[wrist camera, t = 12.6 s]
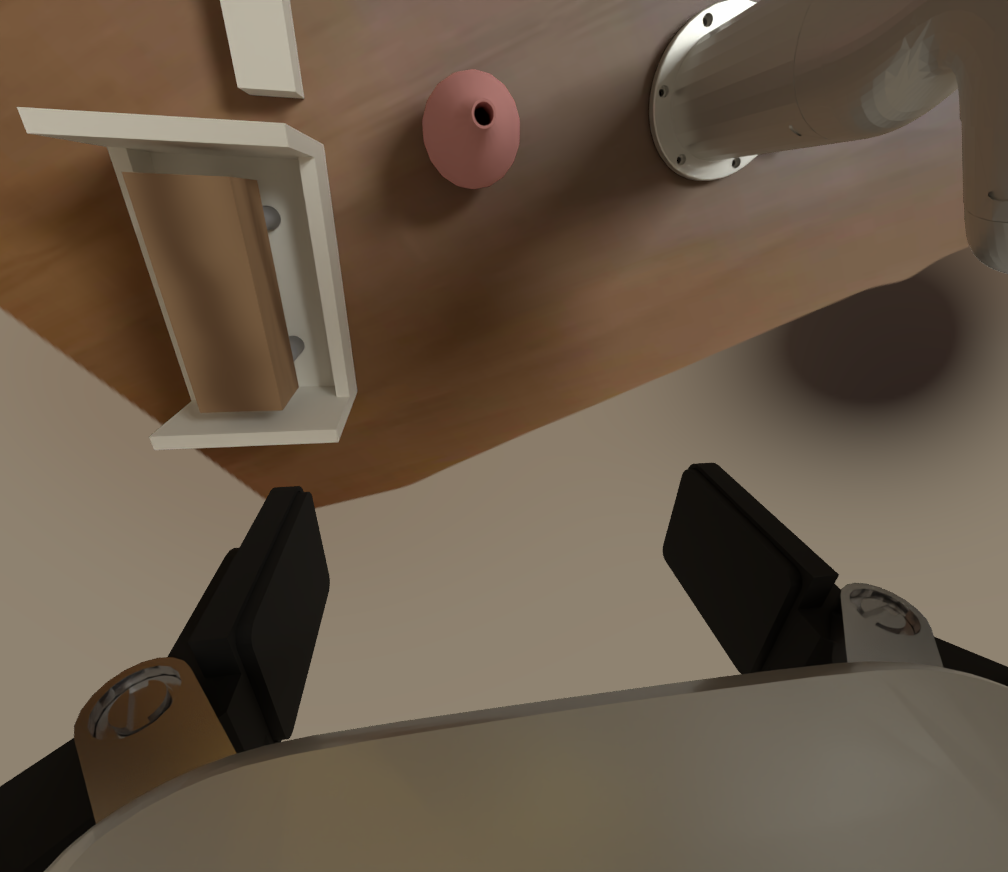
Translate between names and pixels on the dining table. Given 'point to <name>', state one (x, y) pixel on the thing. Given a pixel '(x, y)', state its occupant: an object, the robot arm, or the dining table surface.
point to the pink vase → (471, 129)
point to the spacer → (263, 47)
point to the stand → (294, 244)
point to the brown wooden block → (218, 287)
